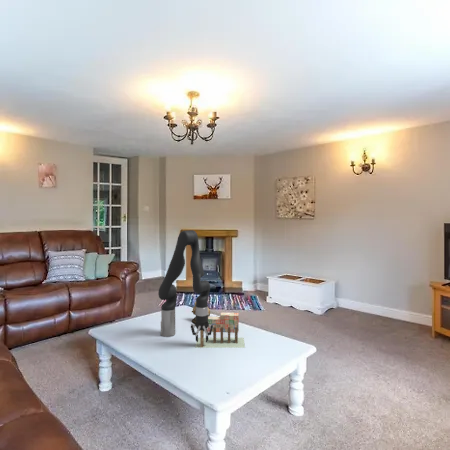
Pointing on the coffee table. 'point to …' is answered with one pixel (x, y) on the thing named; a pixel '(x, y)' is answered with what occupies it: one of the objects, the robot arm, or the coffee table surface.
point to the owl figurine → (195, 313)
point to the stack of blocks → (224, 322)
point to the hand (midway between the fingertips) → (202, 341)
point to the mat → (221, 345)
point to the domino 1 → (201, 338)
